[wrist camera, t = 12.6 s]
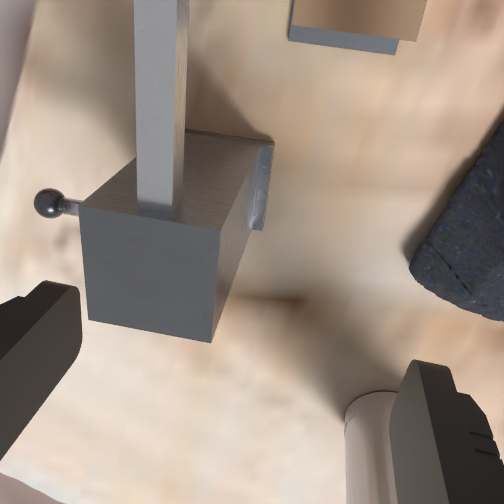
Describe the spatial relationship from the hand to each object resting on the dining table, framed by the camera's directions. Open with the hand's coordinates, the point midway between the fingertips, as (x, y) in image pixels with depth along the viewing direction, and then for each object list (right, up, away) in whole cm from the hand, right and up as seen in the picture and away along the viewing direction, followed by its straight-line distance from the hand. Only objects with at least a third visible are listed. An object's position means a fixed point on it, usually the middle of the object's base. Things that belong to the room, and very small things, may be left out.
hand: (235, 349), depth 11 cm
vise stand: (-5, +14, +28) cm, 32 cm away
